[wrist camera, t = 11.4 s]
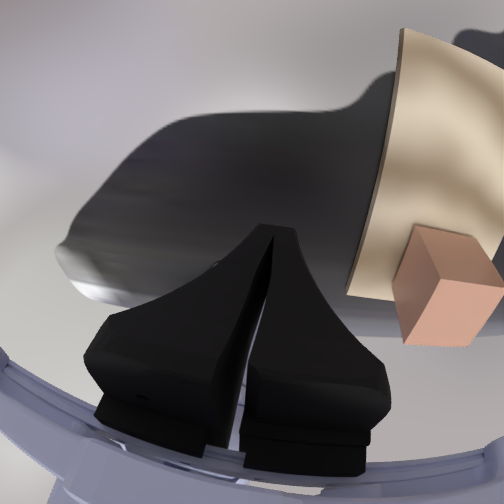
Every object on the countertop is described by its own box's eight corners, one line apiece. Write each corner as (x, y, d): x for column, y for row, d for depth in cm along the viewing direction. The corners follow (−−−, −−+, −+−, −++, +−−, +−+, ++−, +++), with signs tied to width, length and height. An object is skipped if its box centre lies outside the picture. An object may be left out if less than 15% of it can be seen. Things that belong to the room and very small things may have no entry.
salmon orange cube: (448, 294, 21) (467, 346, 16) (391, 287, 21) (403, 344, 17) (476, 238, 17) (507, 288, 13) (415, 225, 18) (440, 278, 13)
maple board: (460, 301, 22) (464, 308, 22) (346, 286, 24) (346, 294, 23) (536, 93, 11) (544, 95, 10) (399, 29, 12) (404, 27, 11)
